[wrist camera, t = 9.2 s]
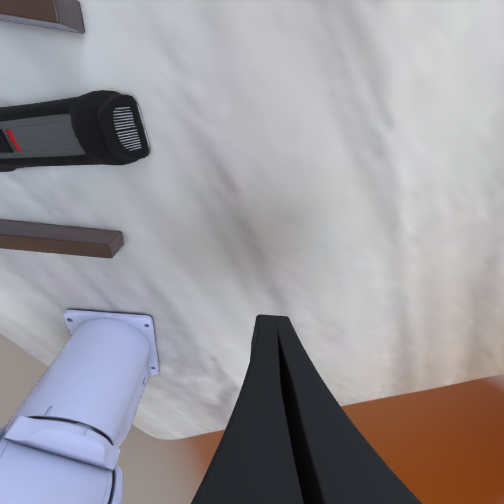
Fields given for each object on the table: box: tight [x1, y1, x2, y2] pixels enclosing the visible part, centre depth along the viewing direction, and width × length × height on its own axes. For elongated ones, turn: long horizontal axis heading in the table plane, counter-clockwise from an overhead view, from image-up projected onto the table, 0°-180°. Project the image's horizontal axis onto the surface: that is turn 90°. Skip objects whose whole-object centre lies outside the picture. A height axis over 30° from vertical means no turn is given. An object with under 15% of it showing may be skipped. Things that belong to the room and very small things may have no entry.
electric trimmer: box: [0, 90, 151, 172], centre depth 14 cm, size 4×16×3 cm, turn 94°
